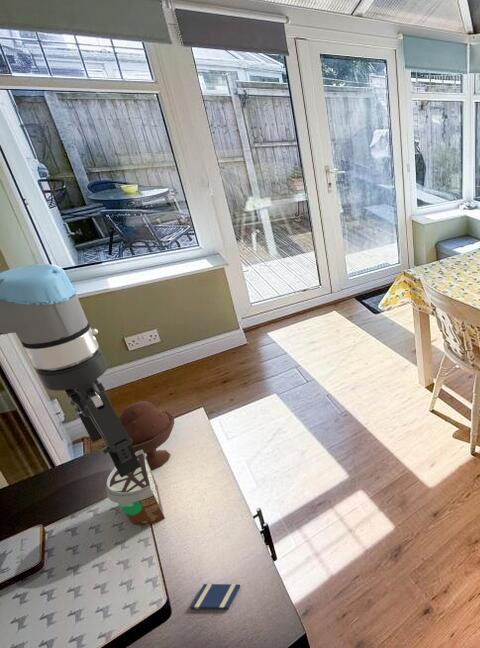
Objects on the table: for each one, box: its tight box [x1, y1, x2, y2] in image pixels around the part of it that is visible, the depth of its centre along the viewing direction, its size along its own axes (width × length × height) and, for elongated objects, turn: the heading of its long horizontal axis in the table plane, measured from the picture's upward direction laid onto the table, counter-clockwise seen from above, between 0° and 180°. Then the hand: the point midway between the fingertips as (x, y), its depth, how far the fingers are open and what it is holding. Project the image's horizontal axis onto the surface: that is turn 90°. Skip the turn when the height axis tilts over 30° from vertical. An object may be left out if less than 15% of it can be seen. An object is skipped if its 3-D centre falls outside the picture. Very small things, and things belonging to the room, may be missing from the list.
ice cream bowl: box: [118, 400, 175, 471], centre depth 89 cm, size 11×11×15 cm
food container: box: [105, 450, 166, 526], centre depth 79 cm, size 12×6×10 cm, turn 45°
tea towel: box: [190, 583, 241, 610], centre depth 68 cm, size 6×3×1 cm, turn 91°
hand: (115, 453), depth 75 cm, fingers open, 13 cm apart
